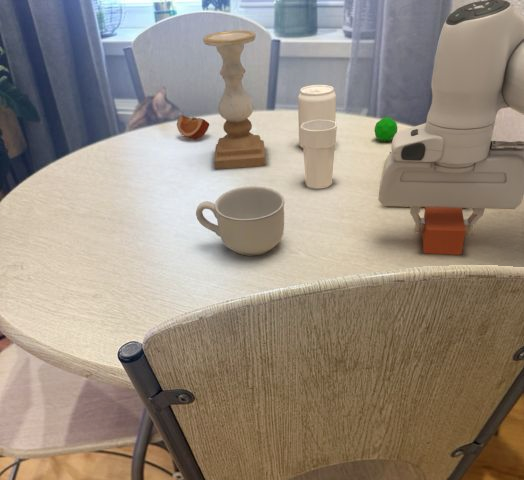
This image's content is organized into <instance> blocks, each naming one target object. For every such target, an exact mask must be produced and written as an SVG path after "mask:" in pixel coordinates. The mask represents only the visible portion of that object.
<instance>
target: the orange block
mask: <svg viewBox="0 0 524 480" xmlns="http://www.w3.org/2000/svg"><path fill="white" fill-rule="evenodd" d="M423 218H425V220H426V225H425V232H424V233H421V234H422V250H423V251H422V253H423V254H431V255H432V254H433V255H454V256H456V255H457V256H461V255H462V252H463V247H464V242H465V237H466V234H465V233H466V229H465V224H464V219H465V218H464V213H463V208H441V207H424V213H423Z"/></svg>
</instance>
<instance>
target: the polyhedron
mask: <svg viewBox="0 0 524 480" xmlns="http://www.w3.org/2000/svg"><path fill="white" fill-rule="evenodd" d="M397 132H398V123H397V122H396V121H395V120H394V119H392V118H391V117H389V116H388V117H386V116H384V117H383V118H381V119H380V120H379V121H377V122H376V123H375V126H374V135H375V137H376V138H377V139H378V140H380V141H381V142H389V141H391V140H393V137H394V135H395V134H396V133H397Z"/></svg>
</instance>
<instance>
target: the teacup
mask: <svg viewBox="0 0 524 480" xmlns="http://www.w3.org/2000/svg"><path fill="white" fill-rule="evenodd" d="M204 210H210V211H211V212H212V213H213V215H214V217H215V219H216V221H217V224H215V223H214V222H211V221H209V220H208V219H207V218H206V217H205V216H204V214H203V211H204ZM195 216H196V219H197V221H198V222H199V224H200V225H201V226H202V227H204V228H206V229H208V230H209V231H211V232H213V233H215V235H216V236H217V237H219V238H220V240H221V241H222V243H223V245H224V246H225V247H226V248H227V249H229V250H231V251H233V252H234V253H237V254H240V255H242V256H247V257H248V256H250V257H251V256H252V257H253V256H260V255H263V254H265V253H268V252H269V251H270V250H271V249H273V248H274V247H275V246H277V245H278V244H279V243H280V241H281V240H282V238H283V235H284V230H285V198H284V195H282V194H281V193H280V191H277V190H275V189H273V188H271V187H266V186H259V185H255V186H254V185H253V186H251V185H250V186H241V187H236V188H233V189H229V190H228V191H226V192H224V193H222V194H221V195H220V196H219V197H218V198H217V199H216V201H215V203H214V202H212V201H208V200H207V201H202V202H201V203H199V204H198V205H197V208H196V211H195Z"/></svg>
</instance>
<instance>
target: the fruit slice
mask: <svg viewBox="0 0 524 480" xmlns="http://www.w3.org/2000/svg"><path fill="white" fill-rule="evenodd" d="M209 127H210V123H209V122H208V121H207V120H206V119H204V118H200V117H194V116H192V117H189V116H187V115H181V114H180V115H179V114H178V118H177V122H176V128H177V130H178V132H179V133H180V135H182V136H183V137H185V138H187V139H189V140H197V139H200V138H202V137H203V136H204V135H205V134H206V133H207V132H208V130H209Z"/></svg>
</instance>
